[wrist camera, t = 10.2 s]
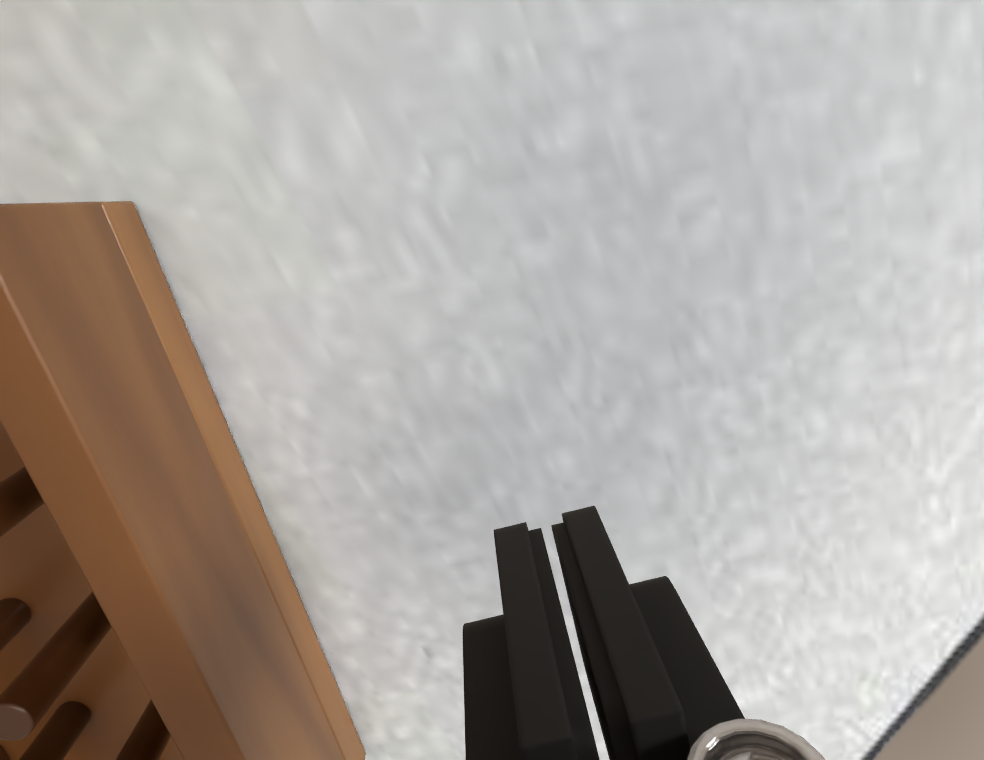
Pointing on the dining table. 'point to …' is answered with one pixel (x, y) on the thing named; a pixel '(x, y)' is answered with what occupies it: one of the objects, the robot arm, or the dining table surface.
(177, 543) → the rack
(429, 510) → the dining table surface
